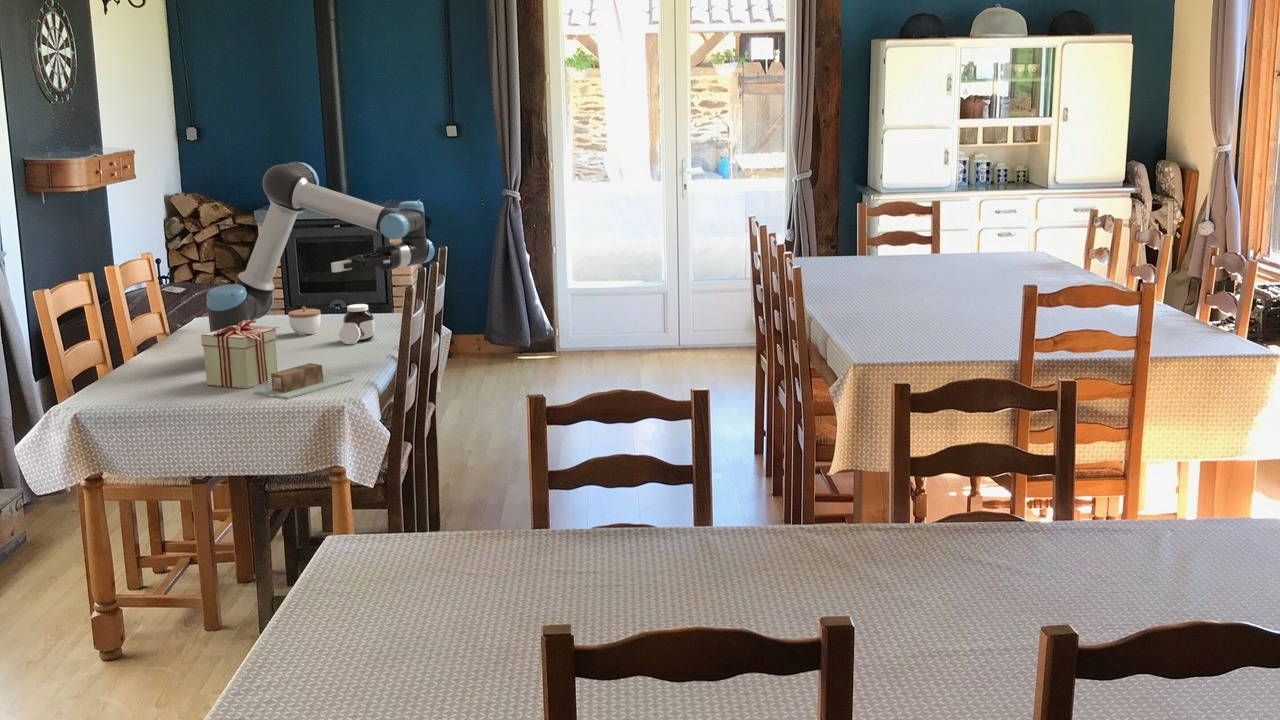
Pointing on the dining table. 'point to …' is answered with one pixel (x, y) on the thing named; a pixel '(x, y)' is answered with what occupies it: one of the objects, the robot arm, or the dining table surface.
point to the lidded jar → (305, 320)
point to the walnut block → (297, 377)
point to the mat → (327, 382)
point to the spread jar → (357, 324)
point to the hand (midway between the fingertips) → (333, 267)
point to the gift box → (240, 355)
